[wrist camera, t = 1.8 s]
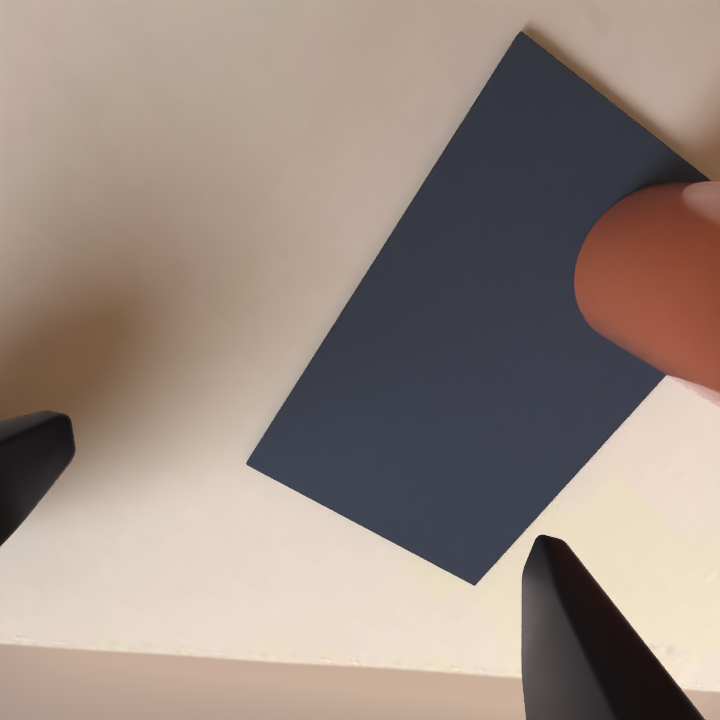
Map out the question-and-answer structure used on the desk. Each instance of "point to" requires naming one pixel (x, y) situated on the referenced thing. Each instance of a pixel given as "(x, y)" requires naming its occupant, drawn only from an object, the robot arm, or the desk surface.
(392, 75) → the desk surface
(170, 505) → the desk surface
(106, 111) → the desk surface
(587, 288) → the pen pot
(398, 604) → the desk surface
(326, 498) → the felt mat
